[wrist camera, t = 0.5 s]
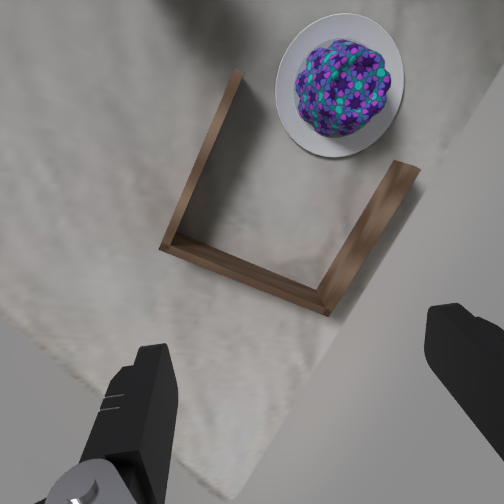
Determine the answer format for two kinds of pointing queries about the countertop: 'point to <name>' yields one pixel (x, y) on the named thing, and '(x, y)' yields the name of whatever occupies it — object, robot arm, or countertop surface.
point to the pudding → (340, 85)
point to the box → (270, 282)
